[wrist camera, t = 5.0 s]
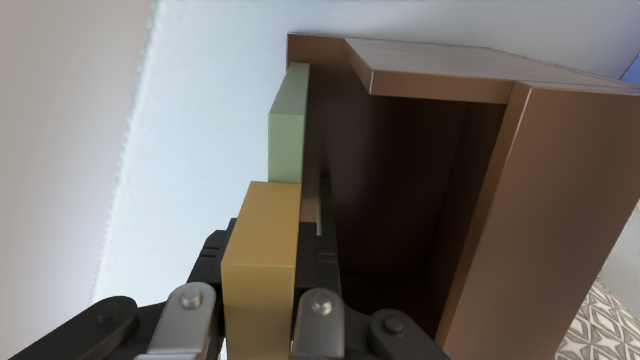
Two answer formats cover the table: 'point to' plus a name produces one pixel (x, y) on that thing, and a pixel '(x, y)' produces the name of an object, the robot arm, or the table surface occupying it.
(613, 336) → the planter
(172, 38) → the table surface
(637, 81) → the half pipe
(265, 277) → the door
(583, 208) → the cabinet
